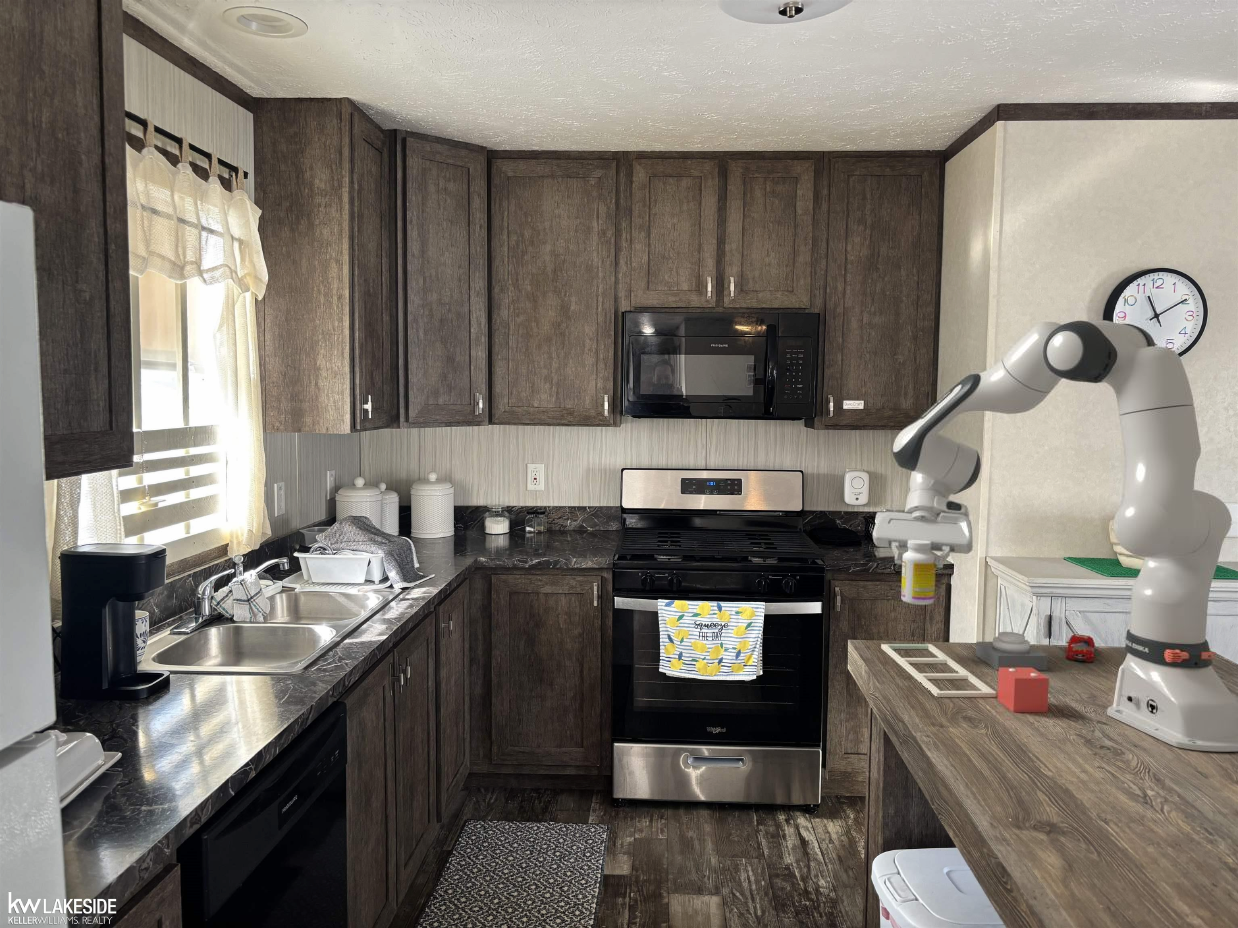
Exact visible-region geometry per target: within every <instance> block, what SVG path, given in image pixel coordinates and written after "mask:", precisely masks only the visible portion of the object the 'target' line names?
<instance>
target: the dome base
mask: <svg viewBox="0 0 1238 928" xmlns="http://www.w3.org/2000/svg"><path fill="white" fill-rule="evenodd" d="M975 645H976V646H975V647H976V648H975V656H976V657H978V658H979V659H981V660H982V661H983V662H984V663H986V664H988V665H990V666H991V667H992V668H994V669H995V670H997V671H999V668H1033V669H1035V670H1036V671H1047V670H1048V655H1047V654H1045V653H1043V651H1040V650H1039V649H1037V648H1035V647H1034V646H1031V645H1030V651H1029V652H1027V653H1008V652H1003V651H999V650H997V649H995V648H993V641H976V644H975Z"/></svg>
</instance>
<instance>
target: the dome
mask: <svg viewBox="0 0 1238 928" xmlns="http://www.w3.org/2000/svg"><path fill="white" fill-rule="evenodd" d="M992 642H993V648H995V649H997V650H999V651H1003V652H1008V653H1027V652H1029V651H1030V646H1031V642H1030V641H1029V640H1028V639H1026V636H1025V635H1024V634H1022V633H1019V632H1013V631H1000V632H998V633H997V636H994V637H992Z"/></svg>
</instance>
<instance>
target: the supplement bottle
mask: <svg viewBox="0 0 1238 928" xmlns="http://www.w3.org/2000/svg"><path fill="white" fill-rule="evenodd" d="M907 546H908V548H909V549H907V550H908V551H906V552H905V553H903V557H902V564H901V590H900V591H901V596H900V597H901V600H902V601H903V602H904V603H908V604H911V605H924V606H925V605H931V604H933V603H934V601H935V594H936V593H935V591H936V590H935V589H936V587H935V586H936V567H935V556H936V555H934V554H932V553H931V551H930V548H931V542H930V541H921V540H908V545H907Z"/></svg>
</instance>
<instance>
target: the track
mask: <svg viewBox="0 0 1238 928" xmlns="http://www.w3.org/2000/svg"><path fill="white" fill-rule="evenodd" d="M880 649H882V651H884V652H885V653H886V654H887V655H889V656H890V657H891V658H892V659H893V660H894V661H895V662H896V663H898V665H899V666H900V667H902V668H903V669H904V670H906V671H907V672H908V673H909V674H910V675H911V676H912V677H913V678H914V679H915V680H916V681H918V682H919V683H920V682H921V683H922V684H921V683H920V684H921V685H922V686H924V688H926V689H927V688H928V689H927V690H928V691H929V690H930V691H931V692H930V691H929V692H930V693H932V694H933V695H934V696H935V697H936V696H937V697H936V698H997V695H998V692H996V691H995V690H993V688H991V687H989V686H988V685H987V684H985V682H983V681H982V680H980V679H979V678H977V677H976V676H974V675H973V674H972V673H970V672H969V671H968V670H966V669H965V668H964V667H962V665H960V664H958V663H957V662H956V661H954V660H953V659H951V658H950V657H949V656H948V655H946V654H945V653H944V652H942V651H941V650H940V649H939V648H937V647H936V646H934V644H931V643H927V644H926V643H923V644H922V643H921V644H920V643H919V644H918V643H917V644H915V643H913V644H912V643H908V644H907V643H904V644H903V643H899V644H897V643H896V644H895V643H892V644H891V643H888V644H887V643H885V644H884V643H881V647H880ZM894 650H929V651H930V652H931V653H932V654H933V655H935V656H936V657H901V656H900V654H898V653H897V652H895V651H894ZM911 664H947V665H948V666H950V667H951V668H952V669H953V670H955V671H956V672H957V671H958V672H957V673H920V671H918V670H917V669H915V668H914V666H912V665H911ZM929 680H968V681H969V682H971V684H973V685H975V686H976V687H977V688H978V689H980V690H940V689H939V688H938V687H937V686H935V684H933V683H931V681H929Z"/></svg>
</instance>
